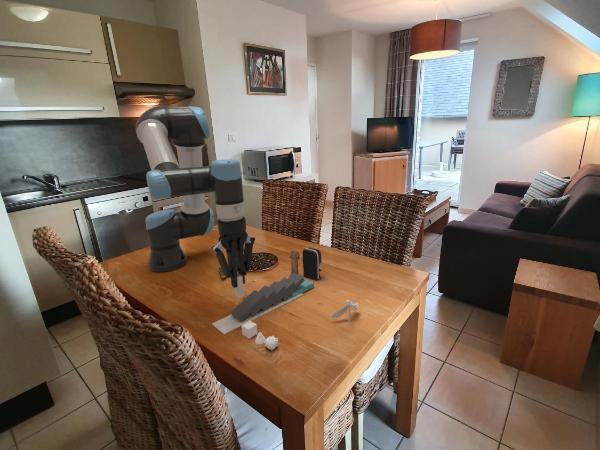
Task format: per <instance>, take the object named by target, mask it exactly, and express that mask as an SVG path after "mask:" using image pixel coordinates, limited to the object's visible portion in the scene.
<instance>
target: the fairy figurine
mask: <svg viewBox="0 0 600 450" xmlns="http://www.w3.org/2000/svg"><path fill="white" fill-rule="evenodd" d="M359 308H360V306H359V302H357V303H355V301H354V302H353V300H350V299H346V301H345V306H344V307H342V308H341V309H339V310H338V311H336V312H334V314H332V315H331V318H337V317H341V316H343V315H344V314H346V312H347V310H348V325H351V320H352V316H351V315H352V313H351V309H352V310H353V311H358V310H359Z"/></svg>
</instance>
